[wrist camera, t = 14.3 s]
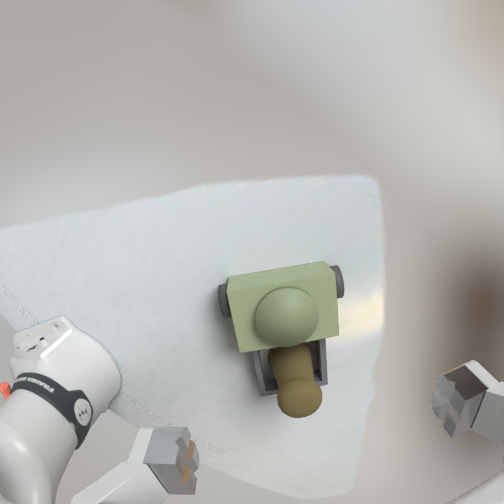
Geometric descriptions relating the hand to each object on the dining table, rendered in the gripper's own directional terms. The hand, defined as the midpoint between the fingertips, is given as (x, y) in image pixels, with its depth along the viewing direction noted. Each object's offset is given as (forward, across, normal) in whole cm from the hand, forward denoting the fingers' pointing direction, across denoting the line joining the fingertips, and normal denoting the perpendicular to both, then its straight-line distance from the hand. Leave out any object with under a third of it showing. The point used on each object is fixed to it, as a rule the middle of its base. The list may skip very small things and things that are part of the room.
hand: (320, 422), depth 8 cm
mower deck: (+29, -1, +13) cm, 32 cm away
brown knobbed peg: (+29, -1, +17) cm, 34 cm away
